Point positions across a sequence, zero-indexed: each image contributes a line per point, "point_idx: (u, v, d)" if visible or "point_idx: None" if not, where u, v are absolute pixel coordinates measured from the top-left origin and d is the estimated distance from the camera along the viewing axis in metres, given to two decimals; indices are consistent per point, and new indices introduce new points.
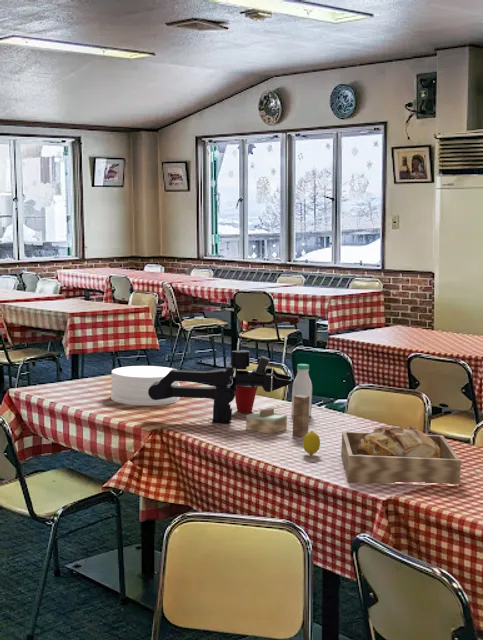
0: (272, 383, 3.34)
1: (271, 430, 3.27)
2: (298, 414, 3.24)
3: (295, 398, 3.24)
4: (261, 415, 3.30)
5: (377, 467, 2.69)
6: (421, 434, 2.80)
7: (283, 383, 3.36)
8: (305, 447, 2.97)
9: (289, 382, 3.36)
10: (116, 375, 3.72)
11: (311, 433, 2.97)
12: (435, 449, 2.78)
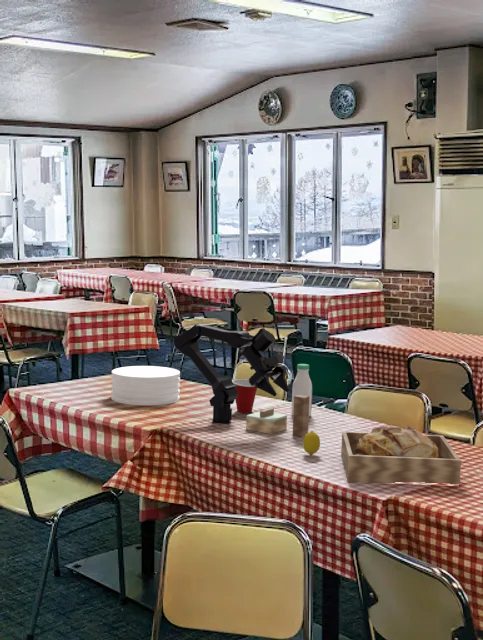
0: (259, 381, 3.25)
1: (271, 430, 3.27)
2: (298, 414, 3.24)
3: (295, 398, 3.24)
4: (261, 415, 3.30)
5: (377, 467, 2.69)
6: (419, 434, 2.80)
7: (268, 390, 3.25)
8: (305, 447, 2.97)
9: (274, 394, 3.25)
10: (116, 375, 3.72)
11: (311, 433, 2.97)
12: (433, 449, 2.78)
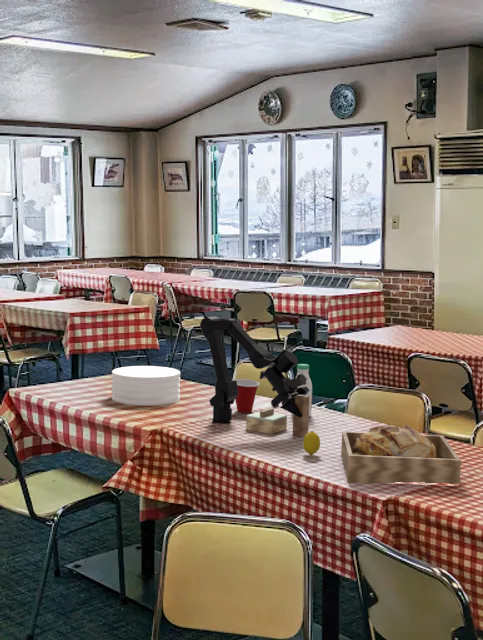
0: (285, 403, 3.22)
1: (271, 430, 3.27)
2: None
3: (295, 398, 3.24)
4: (261, 415, 3.30)
5: (377, 467, 2.69)
6: (417, 433, 2.81)
7: (294, 411, 3.23)
8: (305, 447, 2.97)
9: (299, 415, 3.23)
10: (116, 375, 3.72)
11: (311, 433, 2.97)
12: (431, 448, 2.79)
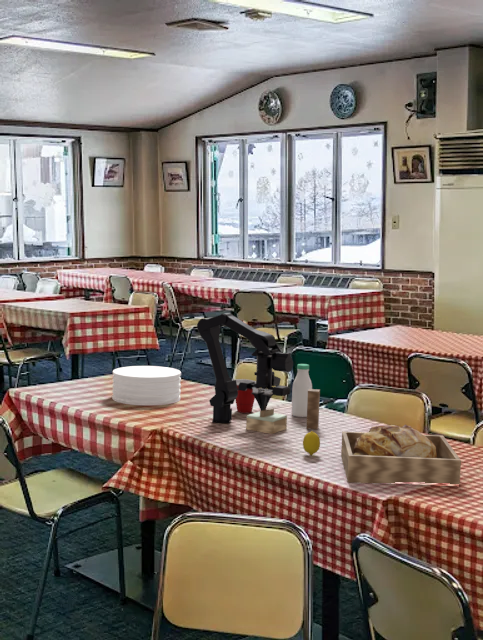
0: (272, 394, 3.31)
1: (271, 430, 3.27)
2: (312, 408, 3.35)
3: (309, 392, 3.35)
4: (261, 415, 3.30)
5: (377, 467, 2.69)
6: (417, 432, 2.82)
7: (265, 404, 3.33)
8: (305, 447, 2.97)
9: None
10: (117, 375, 3.73)
11: (311, 433, 2.97)
12: (431, 447, 2.80)
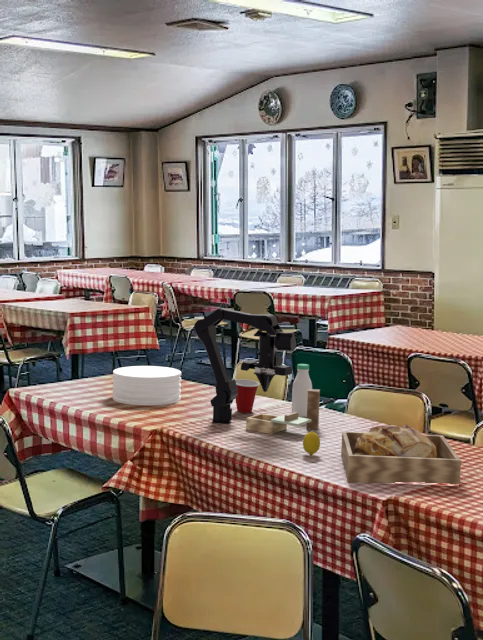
0: (274, 374, 3.33)
1: (271, 430, 3.27)
2: (312, 408, 3.35)
3: (309, 392, 3.35)
4: (285, 419, 3.25)
5: (377, 467, 2.69)
6: (417, 432, 2.82)
7: (267, 384, 3.35)
8: (305, 447, 2.97)
9: (266, 390, 3.36)
10: (117, 375, 3.73)
11: (311, 433, 2.97)
12: (432, 447, 2.80)
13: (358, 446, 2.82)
